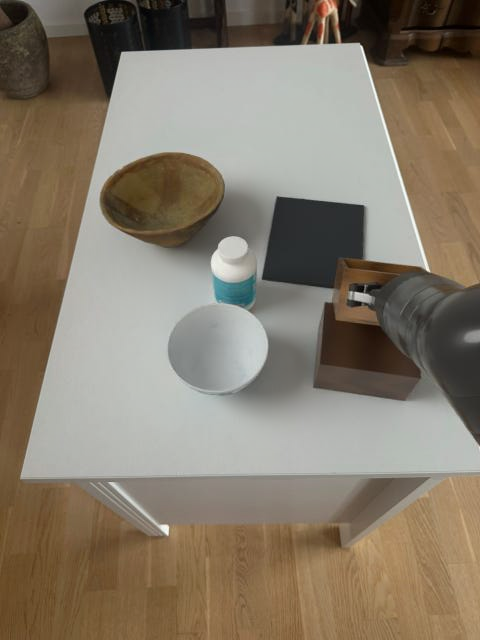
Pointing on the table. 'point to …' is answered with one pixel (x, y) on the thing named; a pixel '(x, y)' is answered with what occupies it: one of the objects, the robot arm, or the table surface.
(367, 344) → the stand
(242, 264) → the pill bottle
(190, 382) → the chinaware
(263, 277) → the mat
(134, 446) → the table surface
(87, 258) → the table surface
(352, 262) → the wooden box
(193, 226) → the bowl
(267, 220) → the table surface
